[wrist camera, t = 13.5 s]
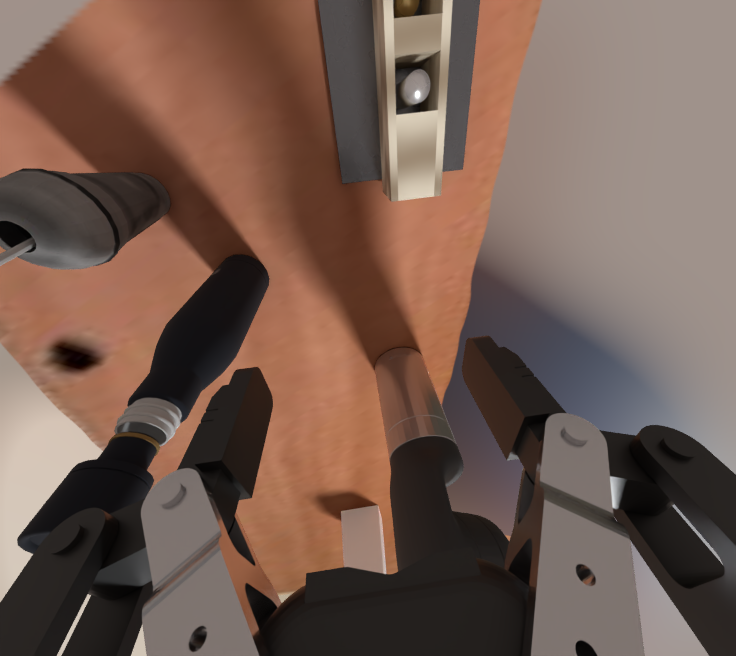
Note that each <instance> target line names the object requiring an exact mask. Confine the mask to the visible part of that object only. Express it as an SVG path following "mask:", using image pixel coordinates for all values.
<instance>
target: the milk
mask: <svg viewBox="0 0 736 656" xmlns="http://www.w3.org/2000/svg"><path fill="white" fill-rule="evenodd" d="M341 523H342V541H343V558H344V567H351V568H357V569H362V570H367V571H372V572H378V573H383V574H386V563H385V551H384V539H383V527H382V518H381V514H380V510H379V507H378V505H375V506H369V507H363V508H357V509H351V510H345V511H341Z"/></svg>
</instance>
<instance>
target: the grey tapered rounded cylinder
mask: <svg viewBox="0 0 736 656" xmlns="http://www.w3.org/2000/svg"><path fill="white" fill-rule="evenodd" d="M169 208H170V198H169V195H168V192H167V191H166V189H165V188H164V186H163V185H162V184H161V183H160V182H159V181H158V180H156V179H155V178H153V177H151V176H150V175H147V174H143V173H130V172H120V173H73V174H70V173H66V172H58V171H47V170H44V169H21V170H19V171H16V172H14V173H11V174H9V175H7V176H5V177H2V178H0V246H1V247H2V248H3V249H5V250H6V251H5V252H3V253H1V254H0V266H1V265H3V264H5V263H6V262H8V261H10V260H12V259H14V258H15V257H18V258H20V259H23V260H25V261H27V262H30V263H32V264H36V265H39V266H44V267H48V268H53V269H84V268H88V267H91V266H97V265H100V264H103V263H106V262H109V261H111V259H112V258H113V257H114V256H115V255H116V254H117V253H118V251H119V250H120V249H121V248H122V247H123V246H124V245H125V244H126V243H127V242H128V241H130V240H131V239H132V238H134V237H135V236H137V235H138V234H139V233H141V232H142V231H144V230H145V229H146V228H148V227H149V226H151V225H152V224H154V223H155V222H156V221H158V220H159V219H160V218H161V217H162V216H163V215H165V214H166V213H167V212H168V211H169Z"/></svg>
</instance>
